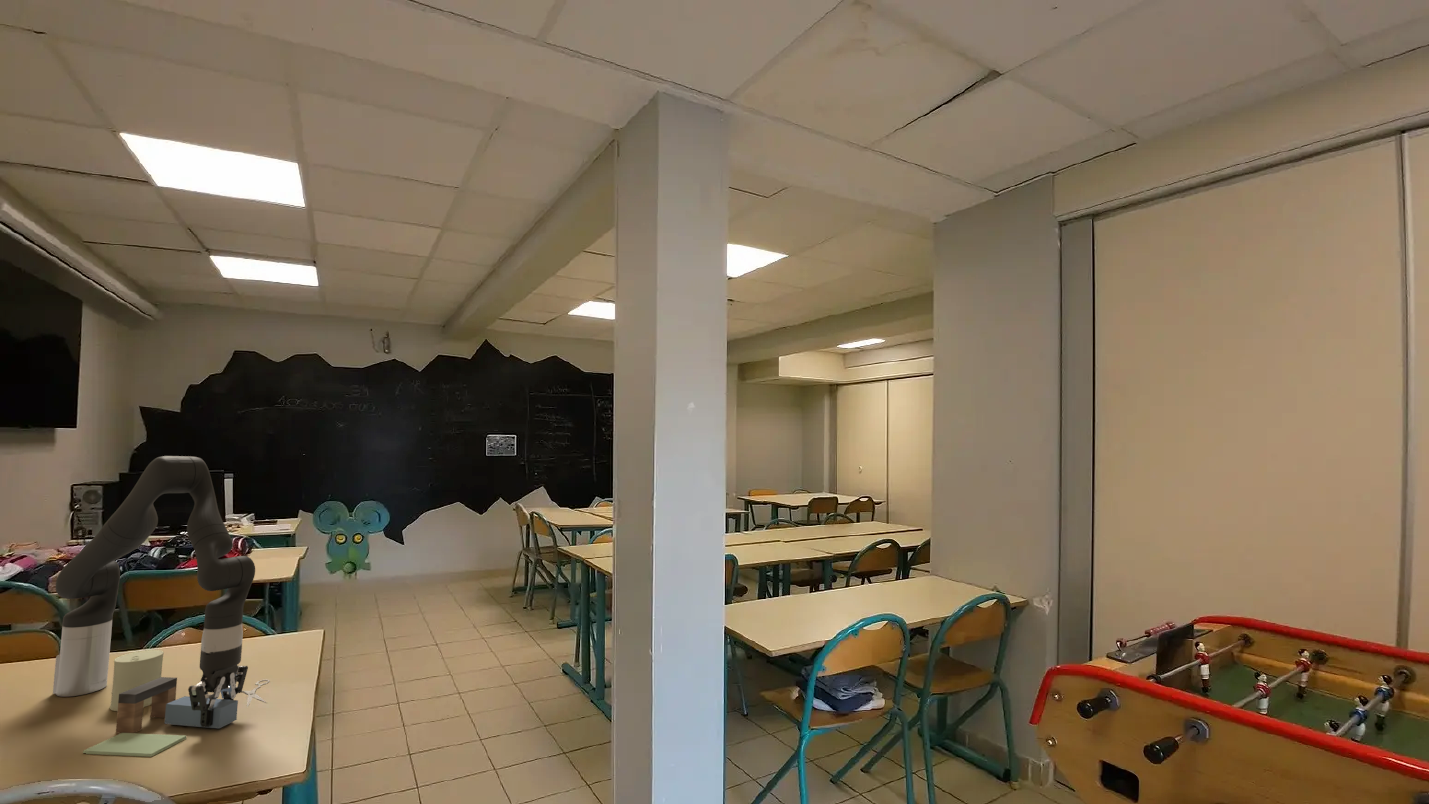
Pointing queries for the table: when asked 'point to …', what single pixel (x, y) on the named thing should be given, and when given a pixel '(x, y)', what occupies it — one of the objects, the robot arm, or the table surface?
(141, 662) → the can
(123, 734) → the pad
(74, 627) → the robot arm
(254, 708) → the table surface
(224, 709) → the blue slab
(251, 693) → the scissors
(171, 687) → the block arch
